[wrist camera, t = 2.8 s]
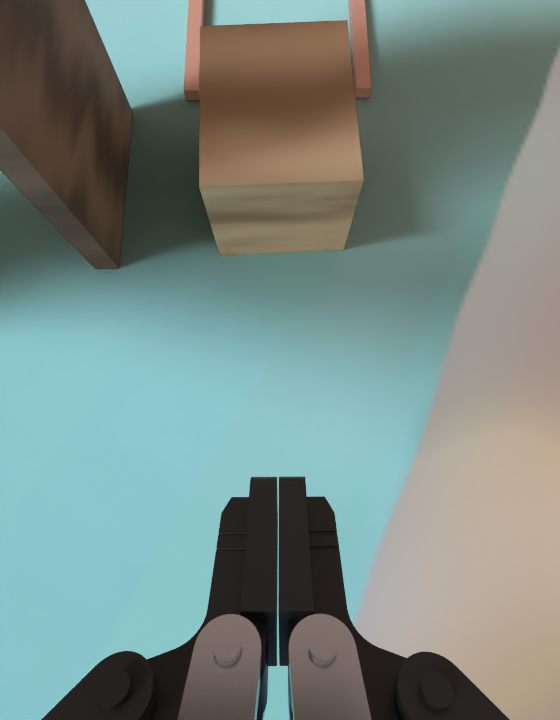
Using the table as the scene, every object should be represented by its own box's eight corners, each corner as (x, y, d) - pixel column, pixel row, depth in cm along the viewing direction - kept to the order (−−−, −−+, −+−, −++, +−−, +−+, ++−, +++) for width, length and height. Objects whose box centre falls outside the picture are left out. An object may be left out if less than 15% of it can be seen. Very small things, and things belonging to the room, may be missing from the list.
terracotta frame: (369, 97, 30) (371, 88, 29) (186, 100, 30) (183, 90, 29) (358, -48, 33) (360, -60, 32) (194, -46, 33) (191, -58, 32)
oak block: (343, 251, 27) (364, 180, 20) (220, 256, 27) (199, 186, 20) (332, 122, 30) (347, 20, 23) (218, 127, 29) (199, 26, 23)
